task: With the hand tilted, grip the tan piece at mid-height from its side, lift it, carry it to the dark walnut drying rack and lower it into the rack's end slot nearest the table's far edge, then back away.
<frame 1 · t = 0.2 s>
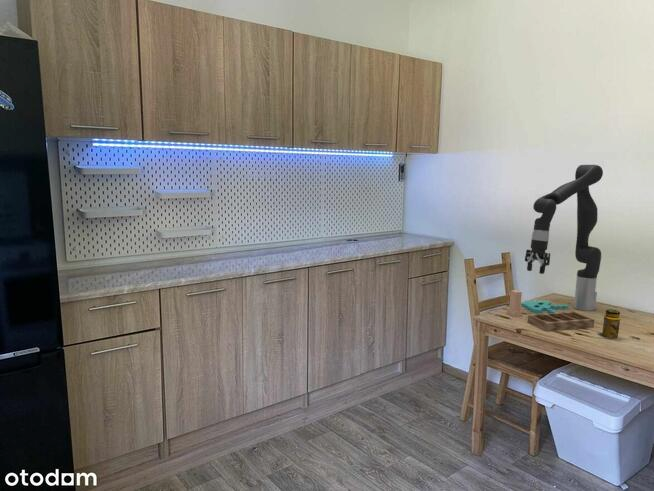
hand: (535, 272, 236), 22 cm above the table, tool pointing down, fingers open, 8 cm apart
condiment: (607, 337, 211), on the table
tan piece: (514, 314, 241), on the table
alien figure: (542, 310, 252), on the table
rack: (560, 324, 226), on the table
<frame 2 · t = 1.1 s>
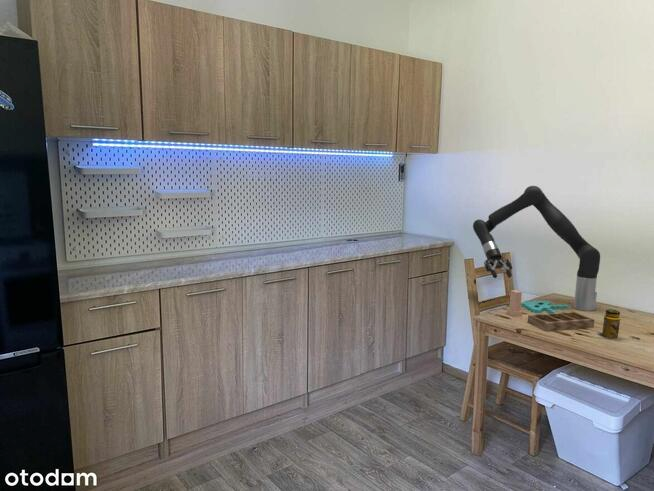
hand: (503, 277, 249), 17 cm above the table, tool tilted 45°, fingers open, 8 cm apart
nothing on the table moved.
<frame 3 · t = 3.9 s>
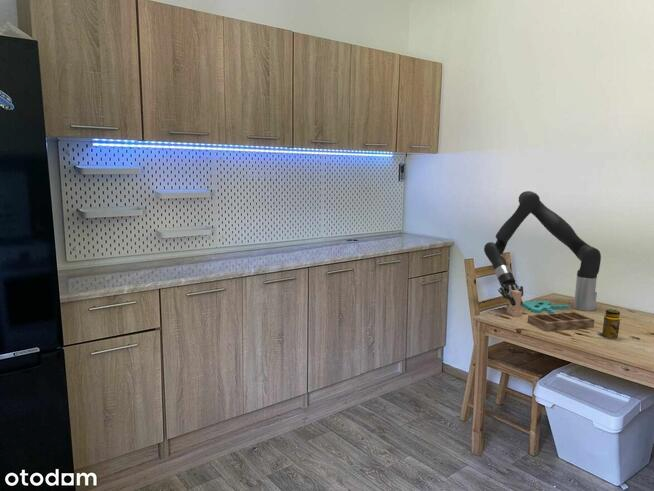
hand: (517, 304, 238), 5 cm above the table, tool tilted 45°, fingers closed on tan piece, 3 cm apart
tan piece: (514, 314, 241), on the table, touching gripper
everything else where it was.
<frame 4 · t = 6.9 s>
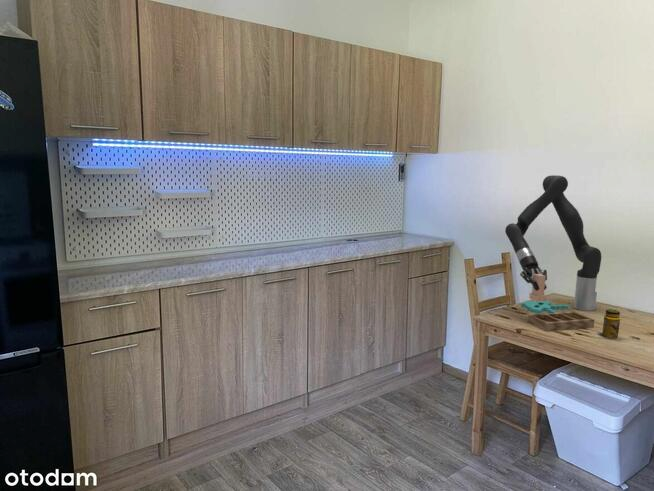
hand: (541, 289, 224), 17 cm above the table, tool tilted 45°, fingers closed on tan piece, 3 cm apart
tan piece: (537, 299, 227), point 11 cm above the table, touching gripper
everything else where it was.
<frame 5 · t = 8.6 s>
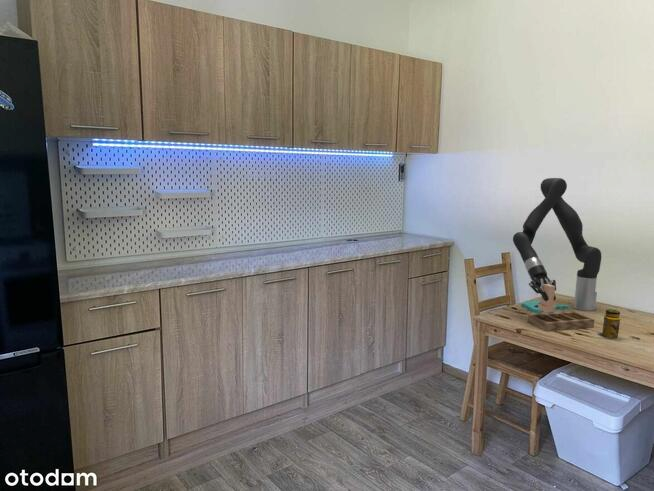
hand: (550, 300, 220), 13 cm above the table, tool tilted 45°, fingers closed on tan piece, 3 cm apart
tan piece: (546, 310, 223), point 8 cm above the table, touching gripper
everything else where it was.
when the fingers open (8 cm above the table, at t = 10.0 s): tan piece drops 1 cm, resting on rack.
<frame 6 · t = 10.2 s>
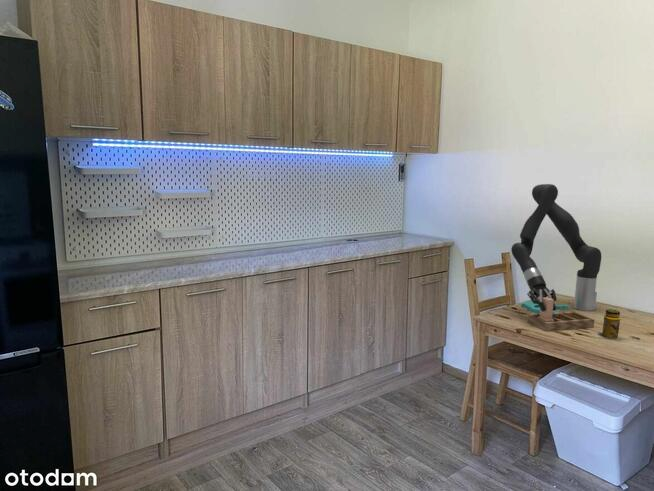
hand: (549, 310, 221), 8 cm above the table, tool tilted 45°, fingers open, 5 cm apart
tan piece: (545, 323, 224), point 1 cm above the table, touching rack
everything else where it was.
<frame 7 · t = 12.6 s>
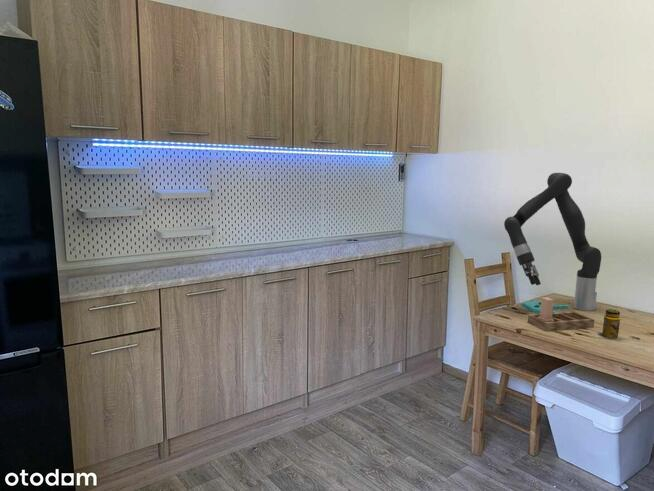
hand: (536, 284, 236), 16 cm above the table, tool tilted 30°, fingers open, 8 cm apart
nothing on the table moved.
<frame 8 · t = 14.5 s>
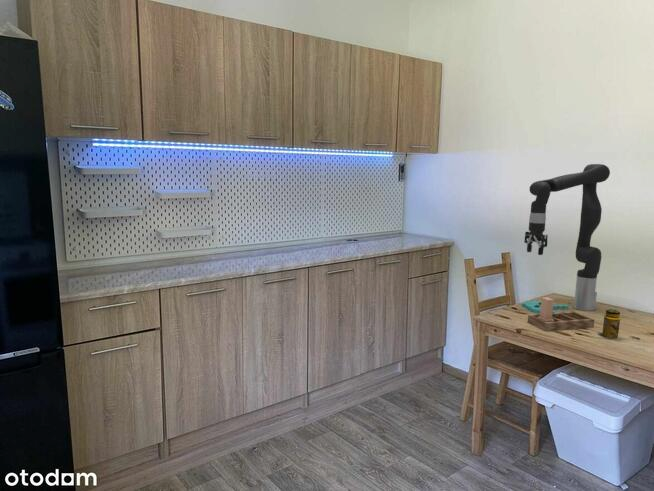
hand: (534, 253, 243), 30 cm above the table, tool pointing down, fingers open, 8 cm apart
nothing on the table moved.
at the end: tan piece inside the target area (0.1 cm from its centre), point 1.2 cm above the table; tan piece tilted 0°; the gripper is holding nothing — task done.
